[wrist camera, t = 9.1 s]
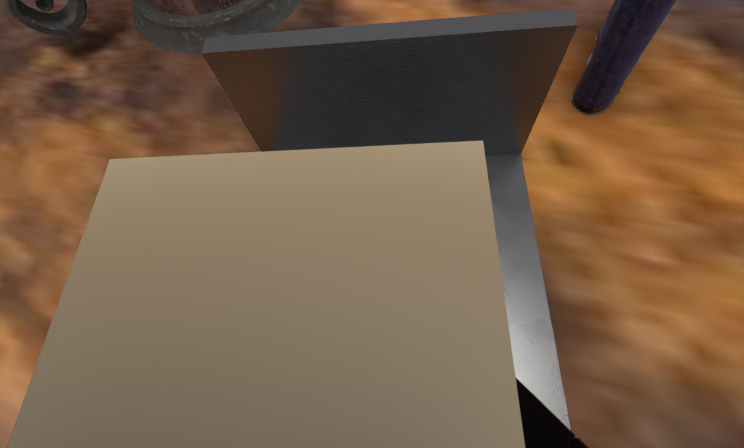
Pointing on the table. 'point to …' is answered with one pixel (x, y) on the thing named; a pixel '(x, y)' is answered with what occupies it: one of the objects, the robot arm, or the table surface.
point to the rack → (421, 122)
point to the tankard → (169, 19)
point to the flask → (617, 51)
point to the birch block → (283, 307)
